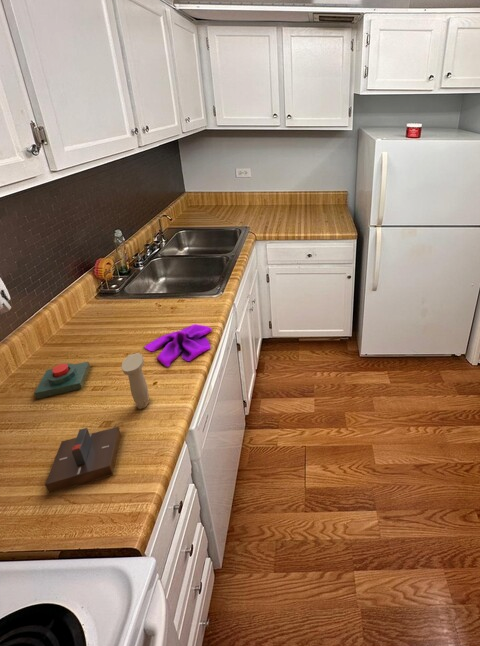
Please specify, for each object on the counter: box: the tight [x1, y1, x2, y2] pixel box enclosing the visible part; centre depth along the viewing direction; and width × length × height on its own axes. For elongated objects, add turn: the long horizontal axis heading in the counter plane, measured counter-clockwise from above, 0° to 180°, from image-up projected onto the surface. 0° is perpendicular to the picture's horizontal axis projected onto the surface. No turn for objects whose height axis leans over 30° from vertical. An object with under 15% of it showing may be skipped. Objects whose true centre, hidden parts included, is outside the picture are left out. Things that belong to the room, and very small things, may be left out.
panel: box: [44, 426, 122, 494], centre depth 76 cm, size 12×10×3 cm
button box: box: [33, 361, 91, 400], centre depth 97 cm, size 11×9×4 cm
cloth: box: [144, 324, 213, 368], centre depth 112 cm, size 22×19×6 cm
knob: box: [72, 427, 92, 466], centre depth 75 cm, size 6×2×5 cm, turn 19°
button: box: [52, 363, 69, 377], centre depth 97 cm, size 4×4×2 cm
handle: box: [121, 352, 150, 410], centre depth 88 cm, size 5×6×15 cm
